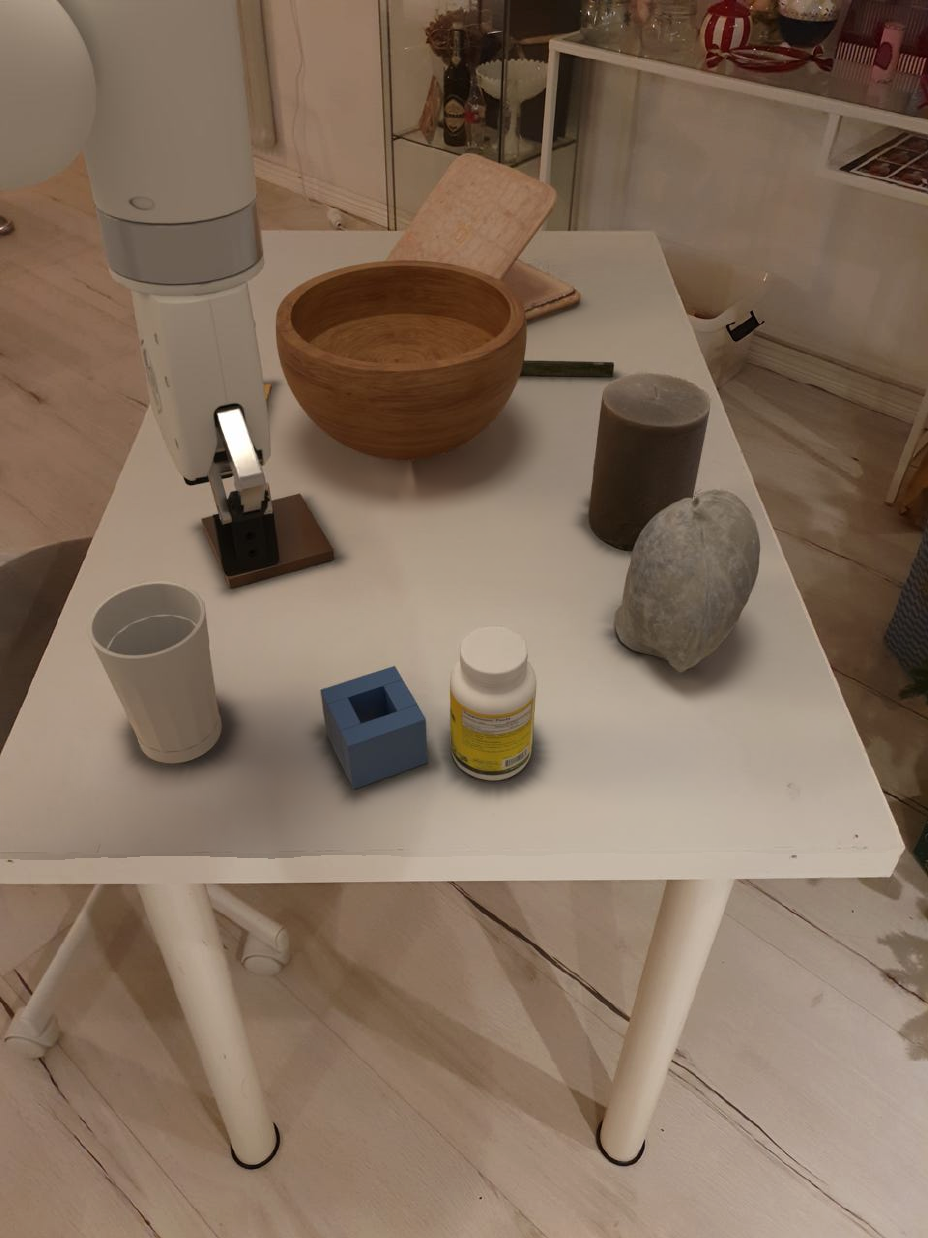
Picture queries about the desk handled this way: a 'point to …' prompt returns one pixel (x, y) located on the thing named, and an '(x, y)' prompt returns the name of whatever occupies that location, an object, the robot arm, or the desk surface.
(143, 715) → the cup
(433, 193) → the case
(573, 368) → the rod
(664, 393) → the pillar candle
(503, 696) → the pill bottle
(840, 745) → the desk surface
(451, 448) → the bowl
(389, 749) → the collar block
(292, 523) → the dowel stand
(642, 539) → the decorative stone
